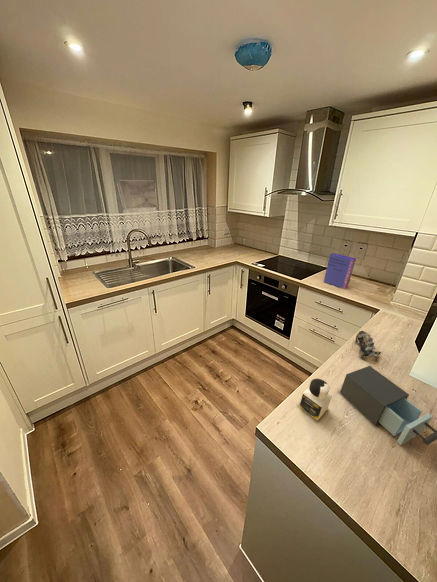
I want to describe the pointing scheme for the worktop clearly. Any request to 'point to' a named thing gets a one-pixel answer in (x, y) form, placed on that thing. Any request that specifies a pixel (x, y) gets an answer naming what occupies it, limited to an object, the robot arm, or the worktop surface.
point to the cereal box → (339, 270)
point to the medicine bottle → (316, 398)
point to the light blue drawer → (406, 421)
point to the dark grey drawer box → (371, 392)
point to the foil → (364, 342)
